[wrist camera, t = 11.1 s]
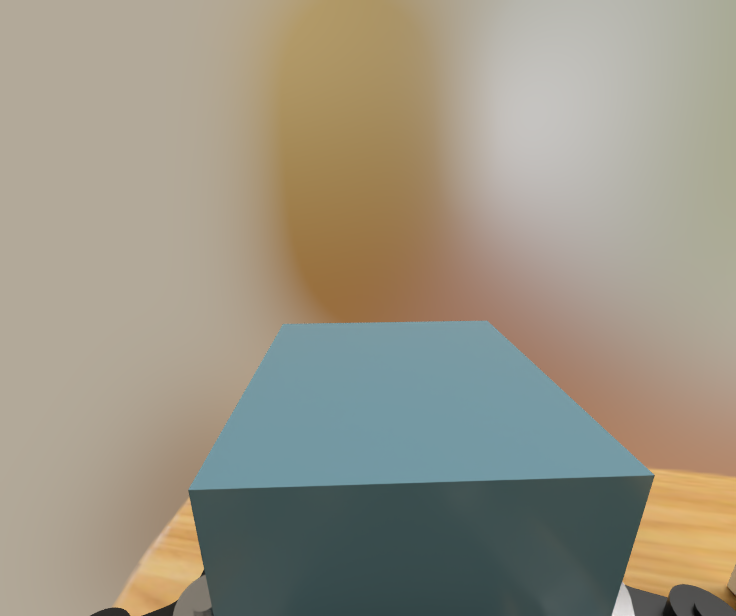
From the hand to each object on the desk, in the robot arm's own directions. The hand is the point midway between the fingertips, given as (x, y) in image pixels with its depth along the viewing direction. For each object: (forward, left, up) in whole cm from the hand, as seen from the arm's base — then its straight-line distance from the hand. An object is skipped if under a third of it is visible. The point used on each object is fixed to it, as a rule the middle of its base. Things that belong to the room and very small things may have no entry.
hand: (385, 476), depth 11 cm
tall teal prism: (-2, +1, -7) cm, 7 cm away
